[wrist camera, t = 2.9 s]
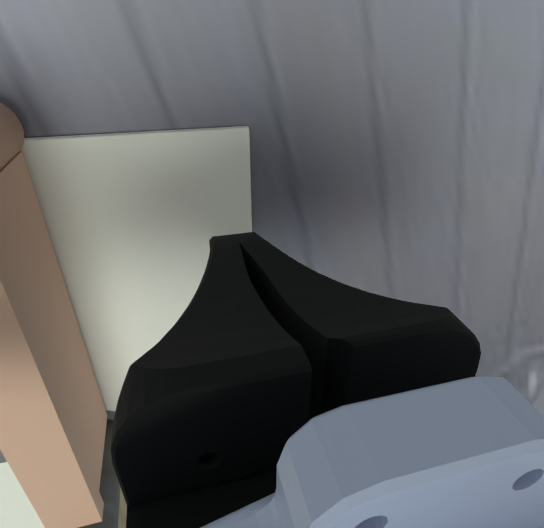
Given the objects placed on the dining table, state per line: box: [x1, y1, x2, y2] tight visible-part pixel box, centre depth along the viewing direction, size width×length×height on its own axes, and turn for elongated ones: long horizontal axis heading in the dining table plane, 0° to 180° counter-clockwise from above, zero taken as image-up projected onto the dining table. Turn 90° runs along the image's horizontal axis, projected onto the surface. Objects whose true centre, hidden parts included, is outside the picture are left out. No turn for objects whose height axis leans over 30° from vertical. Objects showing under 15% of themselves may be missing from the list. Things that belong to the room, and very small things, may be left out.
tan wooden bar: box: [0, 103, 107, 528], centre depth 11 cm, size 2×12×5 cm, turn 179°
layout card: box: [0, 126, 252, 528], centre depth 16 cm, size 20×22×1 cm
